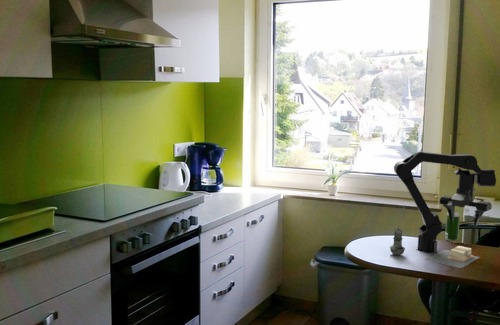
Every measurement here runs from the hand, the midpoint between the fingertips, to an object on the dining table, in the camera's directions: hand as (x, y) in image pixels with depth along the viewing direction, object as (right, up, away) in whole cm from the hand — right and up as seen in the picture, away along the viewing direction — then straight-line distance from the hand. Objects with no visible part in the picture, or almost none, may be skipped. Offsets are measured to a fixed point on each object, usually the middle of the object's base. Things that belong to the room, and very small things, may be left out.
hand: (463, 224), depth 209 cm
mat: (-7, -13, -7) cm, 16 cm away
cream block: (-3, -12, -5) cm, 14 cm away
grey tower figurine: (-28, -13, -4) cm, 31 cm away
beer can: (+3, -9, +21) cm, 23 cm away
